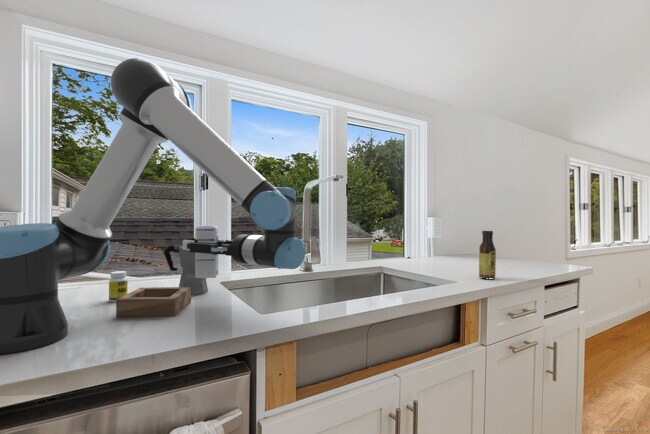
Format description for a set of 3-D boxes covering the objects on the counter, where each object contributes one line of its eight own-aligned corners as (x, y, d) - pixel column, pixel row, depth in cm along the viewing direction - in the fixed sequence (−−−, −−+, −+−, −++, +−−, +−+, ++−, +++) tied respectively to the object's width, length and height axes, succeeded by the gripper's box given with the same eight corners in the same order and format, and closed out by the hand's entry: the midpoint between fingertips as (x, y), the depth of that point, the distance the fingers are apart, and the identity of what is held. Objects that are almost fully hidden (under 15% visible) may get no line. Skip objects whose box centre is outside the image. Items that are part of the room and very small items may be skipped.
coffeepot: (214, 288, 121) (214, 236, 121) (214, 294, 112) (214, 238, 112) (165, 291, 116) (166, 237, 116) (161, 297, 107) (162, 239, 107)
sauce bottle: (494, 280, 139) (495, 231, 139) (477, 279, 143) (478, 230, 142) (496, 278, 145) (496, 230, 145) (479, 276, 148) (480, 230, 148)
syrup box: (216, 278, 98) (217, 226, 98) (194, 278, 96) (195, 226, 96) (218, 274, 103) (219, 225, 103) (197, 274, 102) (198, 225, 102)
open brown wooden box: (174, 316, 87) (174, 298, 87) (116, 317, 86) (116, 299, 86) (190, 302, 101) (190, 287, 101) (140, 303, 100) (140, 287, 100)
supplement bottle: (118, 302, 100) (118, 273, 100) (104, 301, 101) (104, 273, 101) (131, 298, 105) (131, 271, 105) (117, 298, 106) (117, 270, 106)
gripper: (218, 268, 81) (163, 259, 94) (278, 260, 98) (224, 253, 111) (218, 236, 81) (163, 232, 94) (278, 233, 98) (225, 230, 111)
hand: (196, 243), depth 102 cm, fingers closed on syrup box, 8 cm apart
